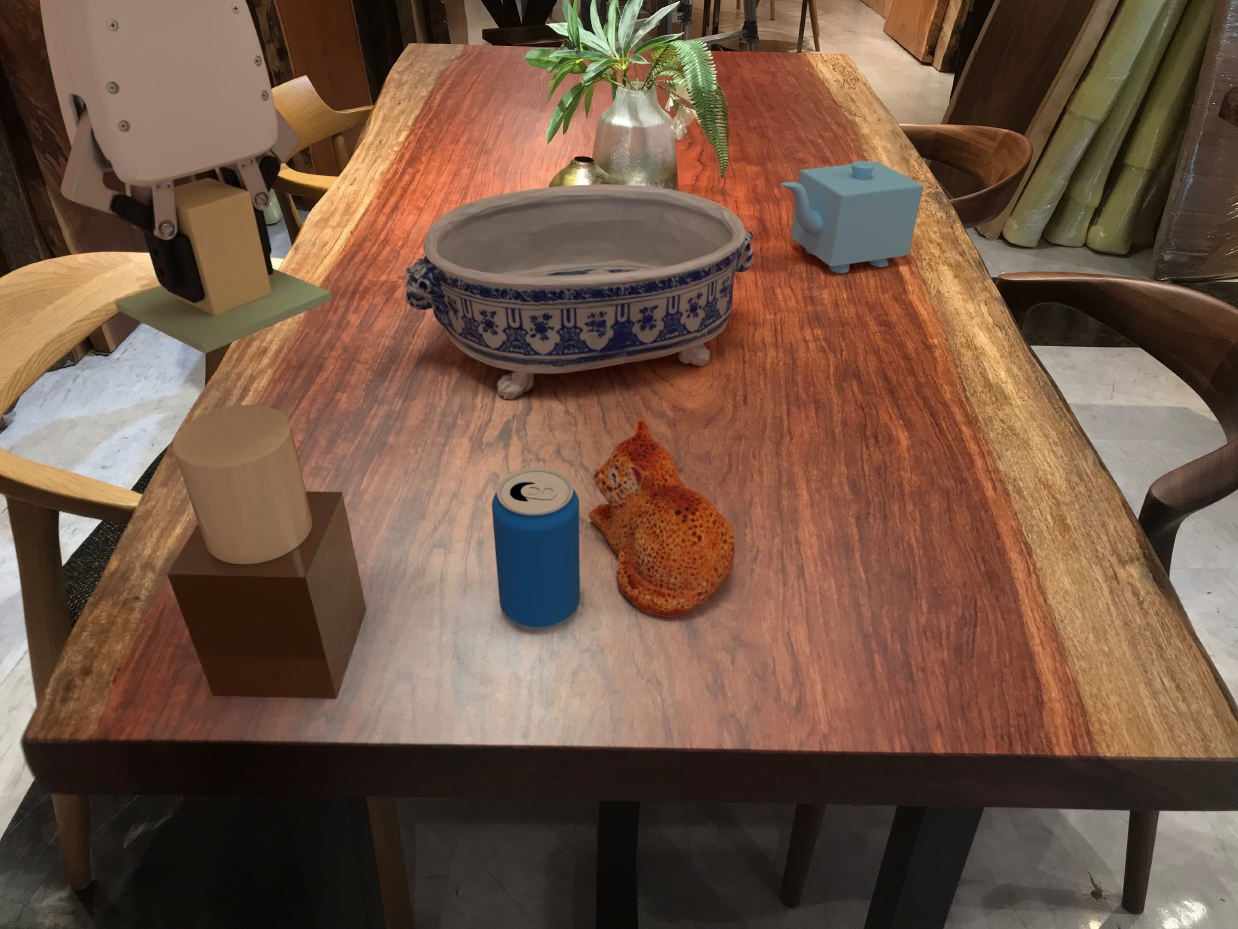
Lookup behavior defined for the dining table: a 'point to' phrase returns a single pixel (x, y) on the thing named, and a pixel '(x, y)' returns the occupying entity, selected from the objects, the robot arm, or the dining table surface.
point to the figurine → (660, 529)
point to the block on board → (227, 323)
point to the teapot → (854, 213)
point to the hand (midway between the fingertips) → (220, 279)
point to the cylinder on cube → (263, 561)
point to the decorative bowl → (581, 278)
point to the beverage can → (537, 546)
